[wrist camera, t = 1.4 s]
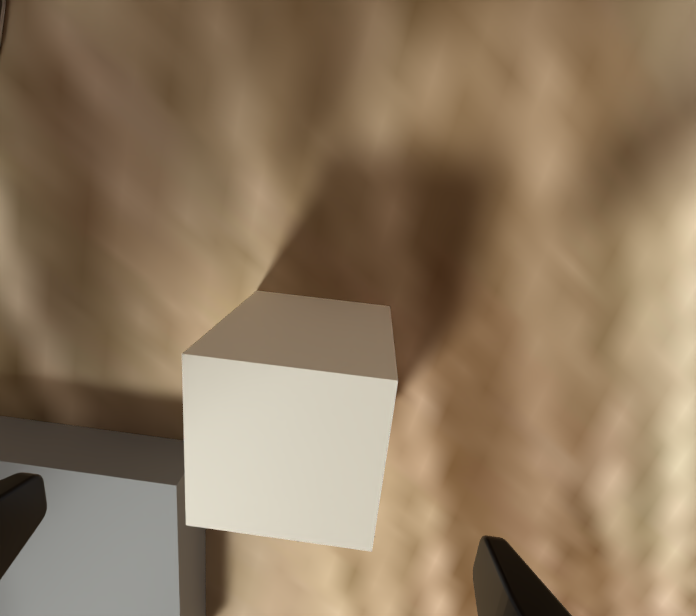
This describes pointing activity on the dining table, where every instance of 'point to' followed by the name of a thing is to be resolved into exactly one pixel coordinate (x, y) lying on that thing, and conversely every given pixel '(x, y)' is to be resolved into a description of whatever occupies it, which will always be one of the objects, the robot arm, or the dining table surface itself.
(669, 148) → the dining table surface
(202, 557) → the grey square slab
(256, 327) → the cream block
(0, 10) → the lighter
